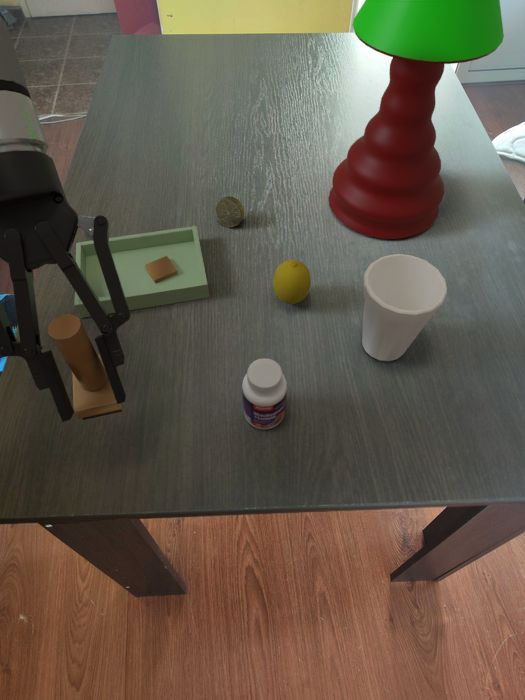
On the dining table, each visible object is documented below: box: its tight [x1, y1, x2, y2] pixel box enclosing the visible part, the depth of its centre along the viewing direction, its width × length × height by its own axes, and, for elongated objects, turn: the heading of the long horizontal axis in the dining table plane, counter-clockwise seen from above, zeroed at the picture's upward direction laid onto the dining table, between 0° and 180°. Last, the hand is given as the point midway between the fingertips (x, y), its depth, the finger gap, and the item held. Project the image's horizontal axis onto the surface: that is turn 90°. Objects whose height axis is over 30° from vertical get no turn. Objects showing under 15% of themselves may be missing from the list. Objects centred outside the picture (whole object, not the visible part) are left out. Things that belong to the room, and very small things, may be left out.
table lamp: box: [328, 0, 505, 240], centre depth 67 cm, size 20×20×45 cm
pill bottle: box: [241, 357, 288, 430], centre depth 57 cm, size 5×5×10 cm
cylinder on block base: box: [47, 313, 123, 421], centre depth 45 cm, size 4×6×11 cm
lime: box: [215, 196, 245, 228], centre depth 80 cm, size 4×5×5 cm
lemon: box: [272, 259, 312, 305], centre depth 69 cm, size 6×6×8 cm
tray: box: [74, 225, 210, 319], centre depth 74 cm, size 20×14×3 cm
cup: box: [361, 253, 448, 362], centre depth 62 cm, size 10×10×13 cm
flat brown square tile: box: [144, 256, 178, 283], centre depth 75 cm, size 4×4×1 cm
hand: (95, 407), depth 45 cm, fingers closed on cylinder on block base, 4 cm apart
